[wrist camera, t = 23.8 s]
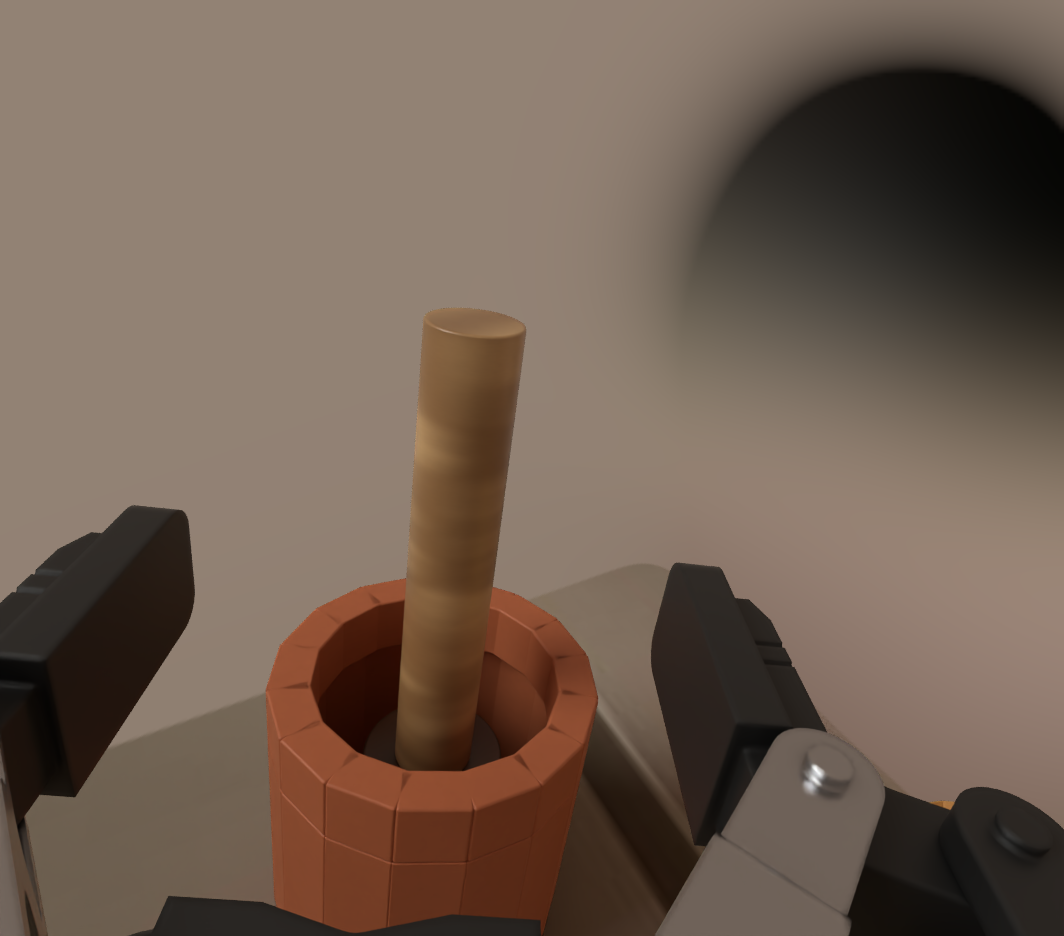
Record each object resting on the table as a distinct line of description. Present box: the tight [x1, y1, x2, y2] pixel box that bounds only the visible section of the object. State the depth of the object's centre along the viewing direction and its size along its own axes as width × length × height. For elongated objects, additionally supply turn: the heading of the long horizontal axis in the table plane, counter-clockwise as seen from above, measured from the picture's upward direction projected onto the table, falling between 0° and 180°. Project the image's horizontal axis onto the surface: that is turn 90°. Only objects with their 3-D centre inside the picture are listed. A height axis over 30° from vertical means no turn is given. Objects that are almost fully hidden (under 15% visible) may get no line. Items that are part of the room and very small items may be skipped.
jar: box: [266, 578, 598, 936], centre depth 24 cm, size 10×10×10 cm
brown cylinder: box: [362, 308, 526, 771], centre depth 21 cm, size 4×4×20 cm
